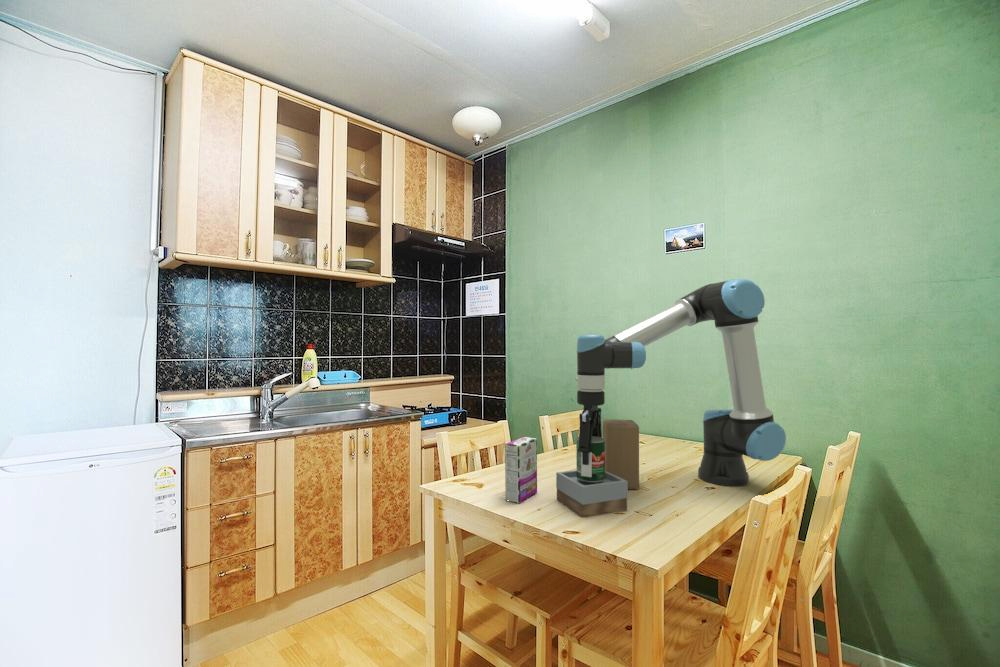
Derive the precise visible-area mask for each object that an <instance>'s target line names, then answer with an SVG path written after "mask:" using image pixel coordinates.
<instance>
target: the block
mask: <svg viewBox="0 0 1000 667" xmlns="http://www.w3.org/2000/svg"><path fill="white" fill-rule="evenodd" d="M602 438H604V439H605V471H607V472H609V473H611V474H613V475H615V476H618V477H620V478H622V479H624V480H626V481H628V490H638V489H639V488H640V426H639V425H638V424H637V423H636V422H635V421H634V420H632V419H616V418H615V419H607V418H606V419H603V420H602Z"/></svg>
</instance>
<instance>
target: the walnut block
mask: <svg viewBox="0 0 1000 667" xmlns="http://www.w3.org/2000/svg"><path fill="white" fill-rule="evenodd" d="M556 500H557V501H558V500H559V501H558V502H560V503H561V504H562V503H563V504H562V505H563V506H565V507H566V506H567V508H568V509H569V510H570V511H572V512H573V513H575V514H576V515H577V516H579V517H580V518H584V517H592V516H600V515H601V516H602V515H607V514H615V513H619V512H621V513H622V512H627V511H628V498H623V499H617V500H610V501H604V502H597V503H591V504H584V505H583V504H581V503H579V502H578V501H576V500H575V499H573V498H571V497H570V496H568V495H566V494H565V493H563V492H562V491H560V490H558V489H557V488H556ZM614 512H615V513H614Z"/></svg>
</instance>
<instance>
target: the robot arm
mask: <svg viewBox="0 0 1000 667" xmlns="http://www.w3.org/2000/svg"><path fill="white" fill-rule="evenodd" d="M765 301H766V300H765V295H764V293H763V291H762V289H761V287H760V286H759V285H758V284H756V283H755V282H754V281H752V280H749V279H746V278H739V279H730V280H725V281H719V282H715V283H708V284H705V285H703V286H701V287H699V288H697V289H694V290H693V291H691V292H690V293H688V294H686V295H684V296H682V297H681V298H678V299H677V300H675V301H674V304H673V305H672V306H669V307H667V308H665V309H664V310H661V311H659V312H658V313H655V314H653V315H651V316H650V317H648V318H646V319H643V320H641V321H639V322H637V323H635V324H633V325H632V326H630V327H627V328H625V329H623V330H622V331H620V332H617V333H616V334H614V335H612V336H610V337H608V338H606V339H605V335H603V334H581V335H579V336H578V337H577V343H576V360H577V361H576V364H577V365H576V366H577V372H576V373H577V375H576V377H575V381H577V383H576V384H577V389H578V390H577V391H576V392H577V393H576V398H577V399H576V402H577V404H578V405H580V406H583V410H582V411H581V412H582V413H579V432H578V434H579V436H578V437H579V448H578V452H581V476H586V477H592V452H591V442H592V436H595V437H602V438H603V430H602V408H601V407H599V406H603V405H605V402H606V401H605V399H606V398H605V395H606V394H605V392H604V389H605V386H606V383H605V379H606V378H605V375H606V374H605V373H606V372H605V369H606V370H607V369H609V370H610V369H631V370H633V369H639V368H642V367H644V365H645V363H646V360H647V351H646V348H645V347H646V346H649V345H650V344H653V343H655V342H656V341H659V340H660V339H662V338H664V337H666V336H668V335H670V334H671V333H674V332H677V331H678V330H679V329H682V328H684V327H692V326H694V325H696V324H699V323H702V322H703V323H704V322H707V321H714V326H715V329H716V330H718V331H720V332H721V337H722V340H723V347H724V348H723V349H724V356H725V360H726V368H727V374H728V380H729V386H730V391H731V392H730V393H731V400H732V405H733V409H707V410H705V412H704V413H703V420H702V423H703V455H702V458H701V461H700V466H699V467H698V469H697V471H698V472H697V477H698V478H699V479H700V480H702V481H704V482H707V483H711V484H716V485H722V486H730V487H732V486H733V487H738V486H739V487H740V486H746V485H748V484H749V482H750V475H749V473H748V471H747V467H746V464H745V461H744V457H743V456H746V457H748V458H750V459H752V460H759V461H763V462H768V461H772V460H774V459H776V458H778V457H779V455H780V454H781V453H782V451H783V450H784V449H785V446H786V443H787V442H786V441H787V436H786V432H785V429H784V428H783V427H782V426H781V425H780V424H779V423H776V422H775V419H774V413H773V411H772V410H771V409H770V408H768V407H767V406H766V398H765V394H764V393H765V392H764V386H763V381H762V380H763V379H762V375H761V369H760V368H761V367H760V361H759V360H760V359H759V354H758V349H757V342H756V336H755V329H754V328H755V327H756V325H757V324H758V323H759V315H760V314H762V312H763V308H764V307H765Z"/></svg>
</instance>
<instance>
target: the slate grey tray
mask: <svg viewBox="0 0 1000 667" xmlns="http://www.w3.org/2000/svg"><path fill="white" fill-rule="evenodd" d="M576 476H577V469H574V470H573V469H572V470H565V471H559V472H556V476H555V477H556V480H555V481H556V484H555V485H556V490H557V489H558V490H560V491H562V492H563V493H565V494H566V495H568V496H570V497H571V498H573V499H575V500H576V501H578V502H579V503H581V504H583V505H584V504H591V503H597V502H604V501H610V500H617V499H623V498H627V499H628V497H629V496H628V493H629V492H628V490H629V489H628V481H626V480H624V479H622V478H620V477H618V476H615V475H613V474H611V473H609V472H607V471H605V480H604V481H602V482H584V481H581V480H578V479H577V477H576Z"/></svg>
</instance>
